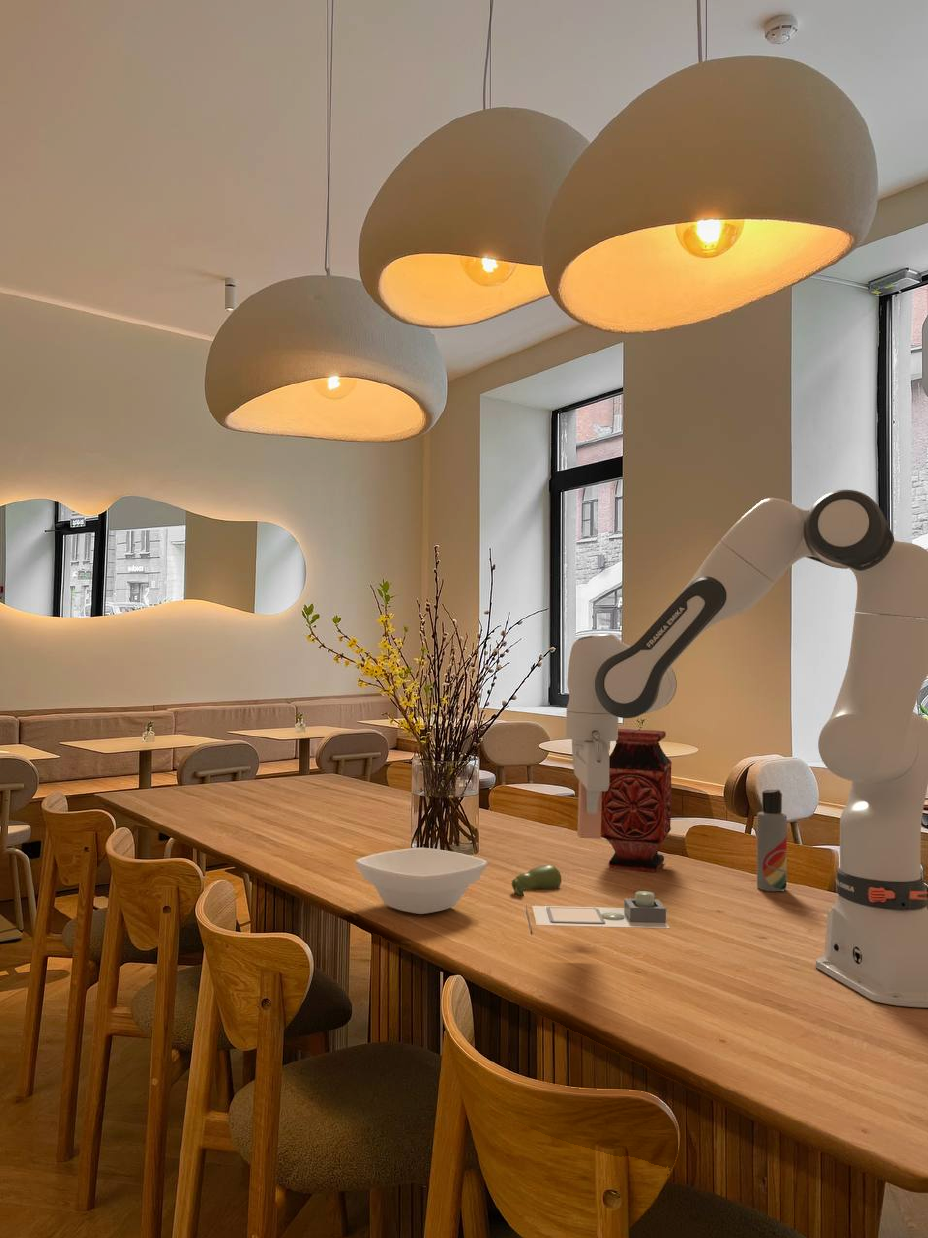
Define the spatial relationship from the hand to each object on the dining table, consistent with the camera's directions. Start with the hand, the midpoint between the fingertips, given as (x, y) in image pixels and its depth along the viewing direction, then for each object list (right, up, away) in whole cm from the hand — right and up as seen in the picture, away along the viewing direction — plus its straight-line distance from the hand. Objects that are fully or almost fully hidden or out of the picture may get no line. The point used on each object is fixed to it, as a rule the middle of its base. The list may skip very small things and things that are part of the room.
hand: (589, 810), depth 155 cm
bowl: (-29, -20, +9) cm, 37 cm away
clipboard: (+2, -20, +2) cm, 20 cm away
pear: (-7, -21, +23) cm, 32 cm away
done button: (+10, -17, +2) cm, 20 cm away
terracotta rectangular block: (0, -4, 0) cm, 4 cm away
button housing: (+10, -19, +2) cm, 21 cm away
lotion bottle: (+41, -22, +30) cm, 55 cm away
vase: (+17, -23, +49) cm, 57 cm away
